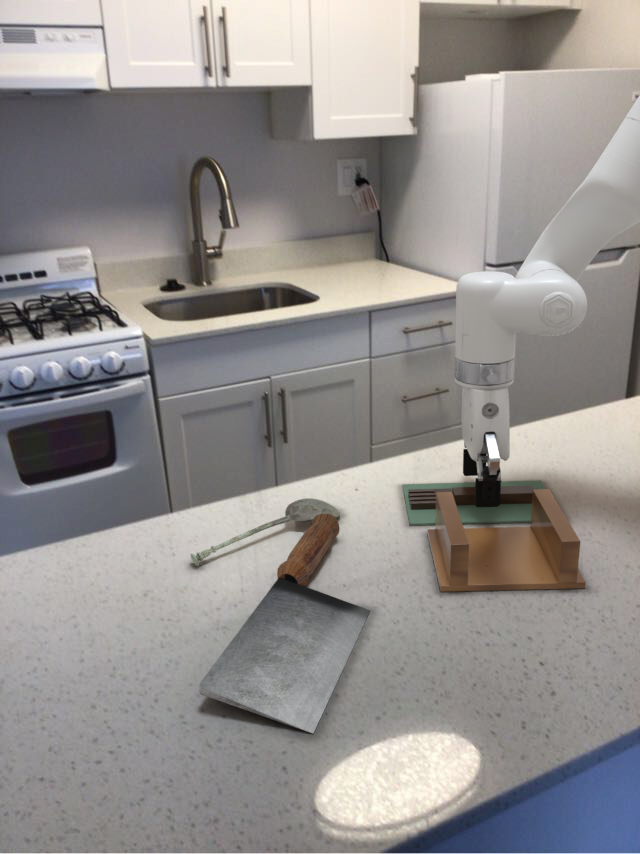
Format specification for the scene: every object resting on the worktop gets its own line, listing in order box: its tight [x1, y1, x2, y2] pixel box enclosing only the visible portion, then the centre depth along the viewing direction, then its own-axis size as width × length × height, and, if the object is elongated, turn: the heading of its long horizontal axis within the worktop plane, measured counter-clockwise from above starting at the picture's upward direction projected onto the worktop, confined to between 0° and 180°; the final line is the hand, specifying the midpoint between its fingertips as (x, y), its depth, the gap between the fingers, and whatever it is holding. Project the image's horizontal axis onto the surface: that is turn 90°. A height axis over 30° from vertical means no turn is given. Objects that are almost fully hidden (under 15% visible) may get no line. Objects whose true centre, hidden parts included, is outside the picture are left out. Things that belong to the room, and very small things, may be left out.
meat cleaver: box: [198, 514, 371, 734], centre depth 81 cm, size 34×11×4 cm, turn 162°
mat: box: [401, 479, 546, 526], centre depth 104 cm, size 20×12×1 cm, turn 89°
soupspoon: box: [190, 497, 341, 567], centre depth 97 cm, size 22×3×7 cm
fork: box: [408, 486, 534, 510], centre depth 104 cm, size 17×4×2 cm, turn 89°
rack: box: [426, 488, 587, 593], centre depth 89 cm, size 16×13×6 cm
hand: (480, 489), depth 103 cm, fingers open, 9 cm apart
